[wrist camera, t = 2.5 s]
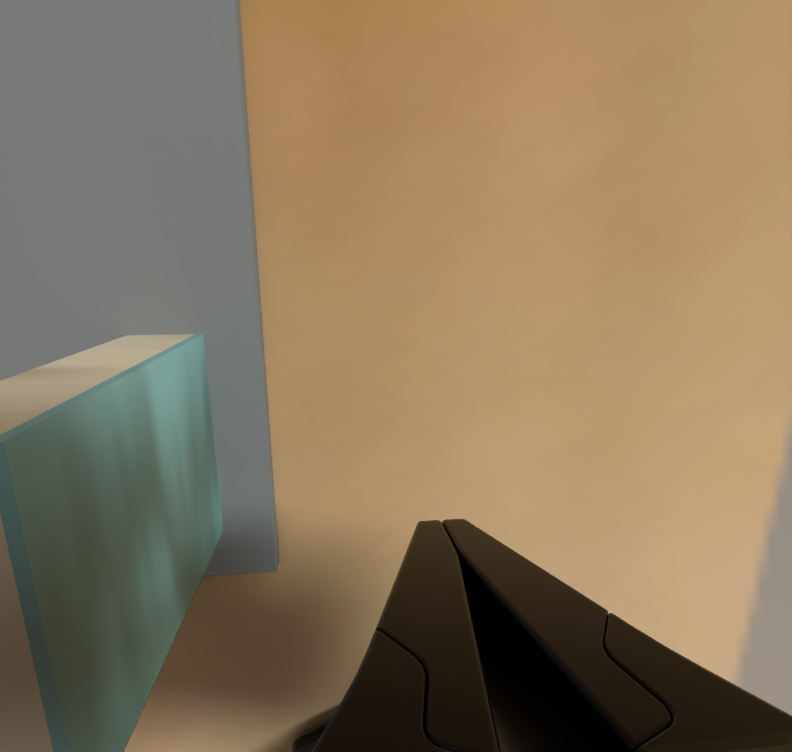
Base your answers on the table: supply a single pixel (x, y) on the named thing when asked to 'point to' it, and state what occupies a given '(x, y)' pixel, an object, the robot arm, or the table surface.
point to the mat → (139, 214)
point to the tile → (100, 535)
